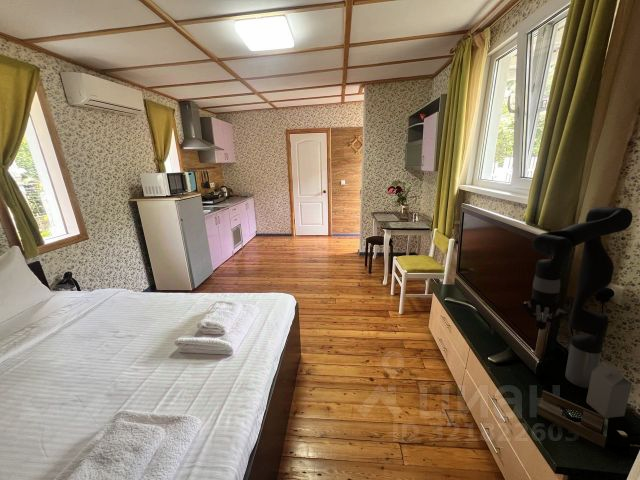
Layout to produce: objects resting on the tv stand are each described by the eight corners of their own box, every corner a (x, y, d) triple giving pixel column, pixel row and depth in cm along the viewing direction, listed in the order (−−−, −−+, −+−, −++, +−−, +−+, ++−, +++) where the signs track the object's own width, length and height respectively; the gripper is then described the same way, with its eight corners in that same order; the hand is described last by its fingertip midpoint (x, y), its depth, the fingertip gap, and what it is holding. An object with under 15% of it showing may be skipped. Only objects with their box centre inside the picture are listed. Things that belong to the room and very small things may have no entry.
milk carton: (603, 400, 103) (612, 360, 98) (624, 416, 96) (634, 374, 92) (585, 402, 103) (593, 362, 98) (605, 418, 96) (614, 376, 92)
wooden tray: (542, 397, 107) (543, 390, 106) (606, 427, 94) (608, 418, 93) (536, 413, 101) (537, 405, 100) (604, 447, 87) (606, 438, 86)
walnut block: (581, 419, 96) (583, 410, 95) (601, 428, 92) (603, 419, 91) (579, 428, 93) (581, 419, 92) (599, 438, 89) (601, 429, 88)
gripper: (572, 288, 93) (565, 330, 98) (526, 279, 103) (522, 318, 108) (568, 296, 89) (562, 340, 93) (521, 286, 99) (517, 326, 103)
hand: (540, 328), depth 100 cm, fingers closed
